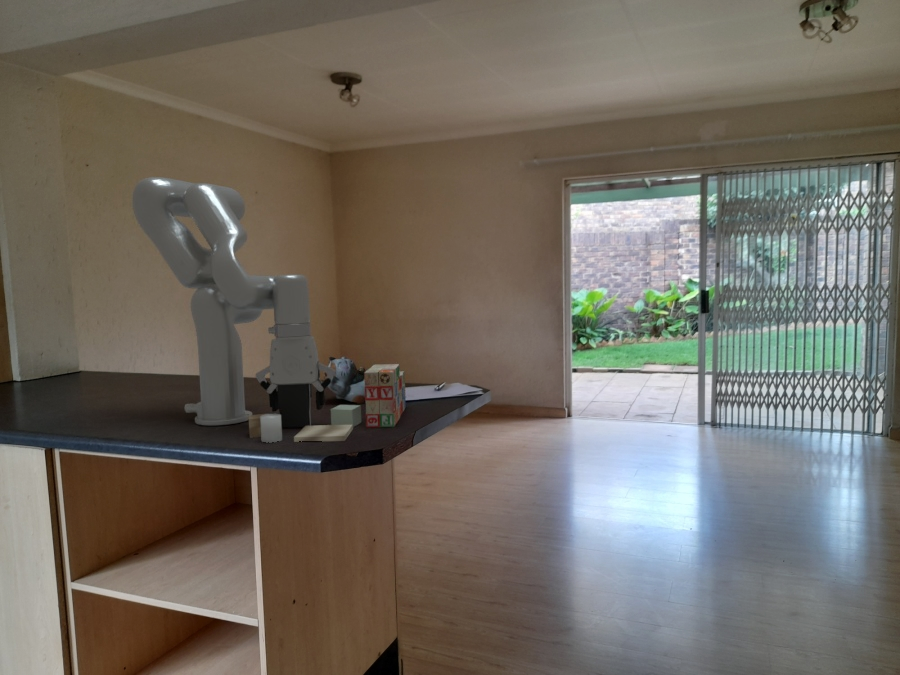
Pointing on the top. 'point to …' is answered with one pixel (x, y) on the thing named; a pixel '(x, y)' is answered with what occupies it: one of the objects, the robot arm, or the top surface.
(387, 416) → the stack of blocks
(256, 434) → the oak block
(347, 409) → the sage block
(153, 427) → the top surface
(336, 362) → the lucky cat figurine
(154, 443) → the top surface
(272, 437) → the grey rounded block
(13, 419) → the top surface
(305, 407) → the battery
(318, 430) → the birch coaster
